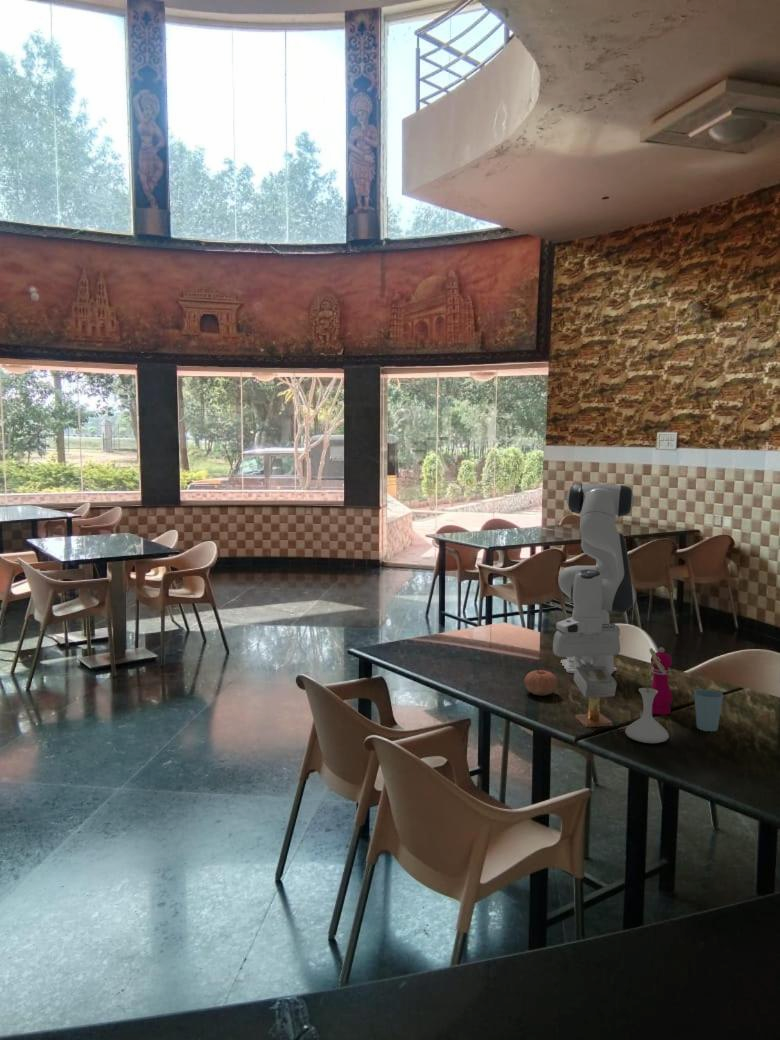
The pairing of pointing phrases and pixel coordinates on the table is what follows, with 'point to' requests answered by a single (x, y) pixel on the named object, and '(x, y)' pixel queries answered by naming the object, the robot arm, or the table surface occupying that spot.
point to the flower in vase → (648, 714)
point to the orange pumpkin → (540, 682)
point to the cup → (707, 709)
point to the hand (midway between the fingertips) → (586, 669)
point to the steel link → (594, 680)
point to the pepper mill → (661, 684)
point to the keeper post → (593, 715)
